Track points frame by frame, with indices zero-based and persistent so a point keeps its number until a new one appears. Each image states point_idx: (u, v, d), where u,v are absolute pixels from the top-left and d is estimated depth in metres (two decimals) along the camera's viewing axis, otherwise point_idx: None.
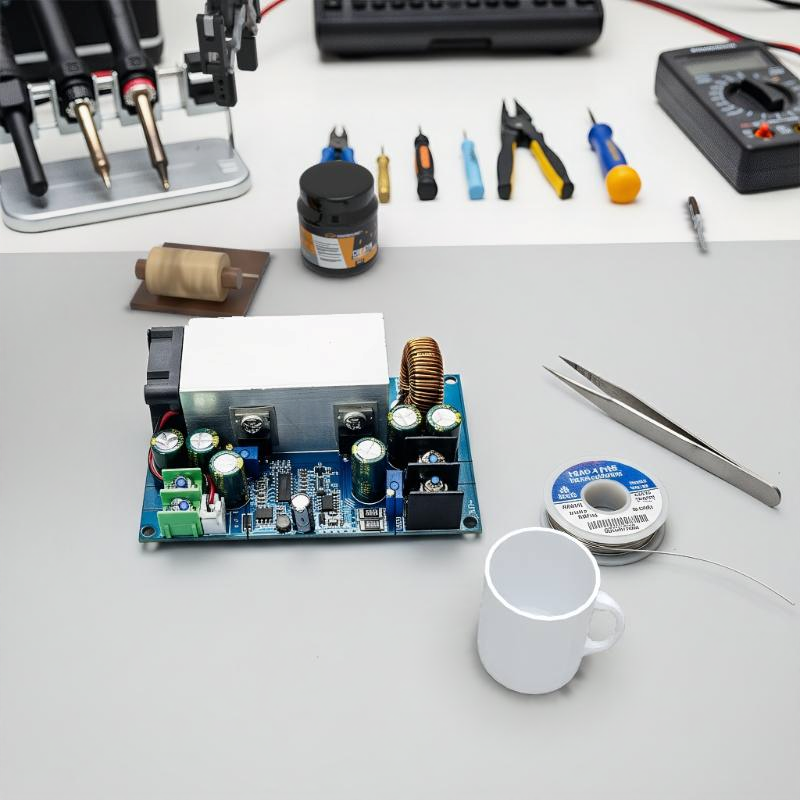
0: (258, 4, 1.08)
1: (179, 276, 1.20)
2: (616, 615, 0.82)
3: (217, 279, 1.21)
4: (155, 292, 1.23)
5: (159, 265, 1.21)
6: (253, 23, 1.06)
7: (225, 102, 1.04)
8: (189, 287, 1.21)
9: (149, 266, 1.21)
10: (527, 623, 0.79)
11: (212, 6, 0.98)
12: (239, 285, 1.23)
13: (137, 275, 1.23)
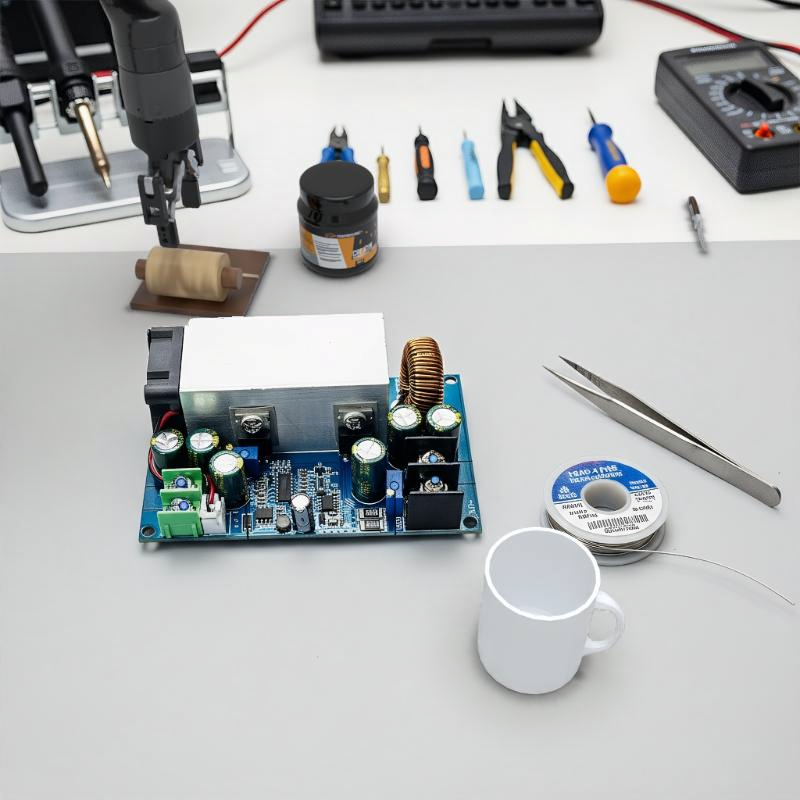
0: (200, 150, 1.19)
1: (179, 276, 1.20)
2: (616, 615, 0.82)
3: (217, 279, 1.21)
4: (155, 292, 1.23)
5: (159, 265, 1.21)
6: (194, 170, 1.16)
7: (168, 245, 1.14)
8: (189, 287, 1.21)
9: (149, 266, 1.21)
10: (527, 623, 0.79)
11: (153, 165, 1.09)
12: (239, 285, 1.23)
13: (137, 275, 1.23)
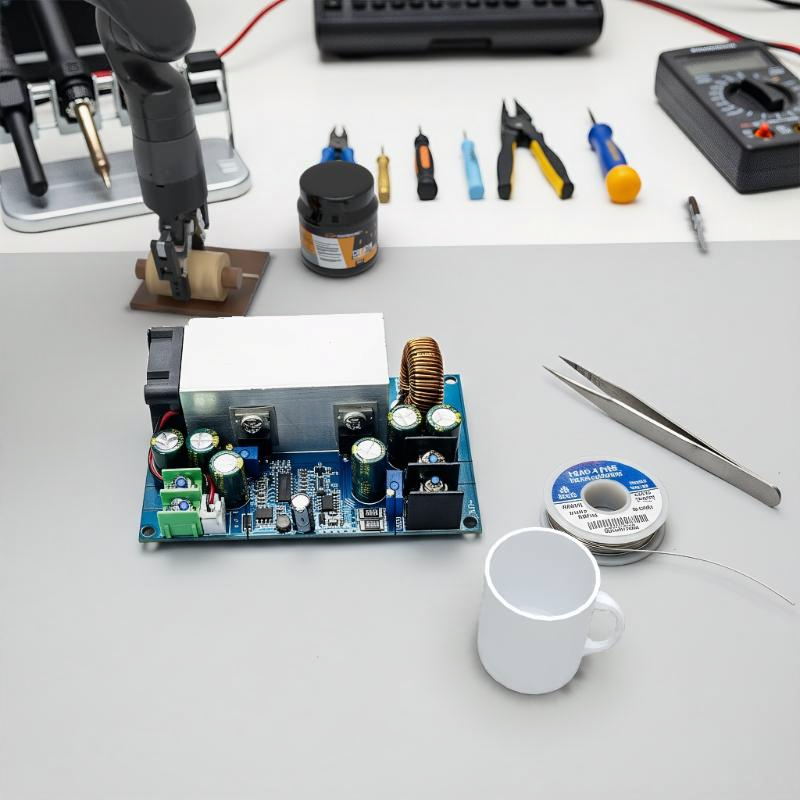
0: (207, 213, 1.24)
1: None
2: (616, 615, 0.82)
3: (218, 279, 1.21)
4: (155, 292, 1.23)
5: None
6: (201, 231, 1.21)
7: (180, 298, 1.21)
8: None
9: (149, 265, 1.21)
10: (527, 623, 0.79)
11: (163, 227, 1.14)
12: (239, 285, 1.23)
13: (137, 275, 1.23)
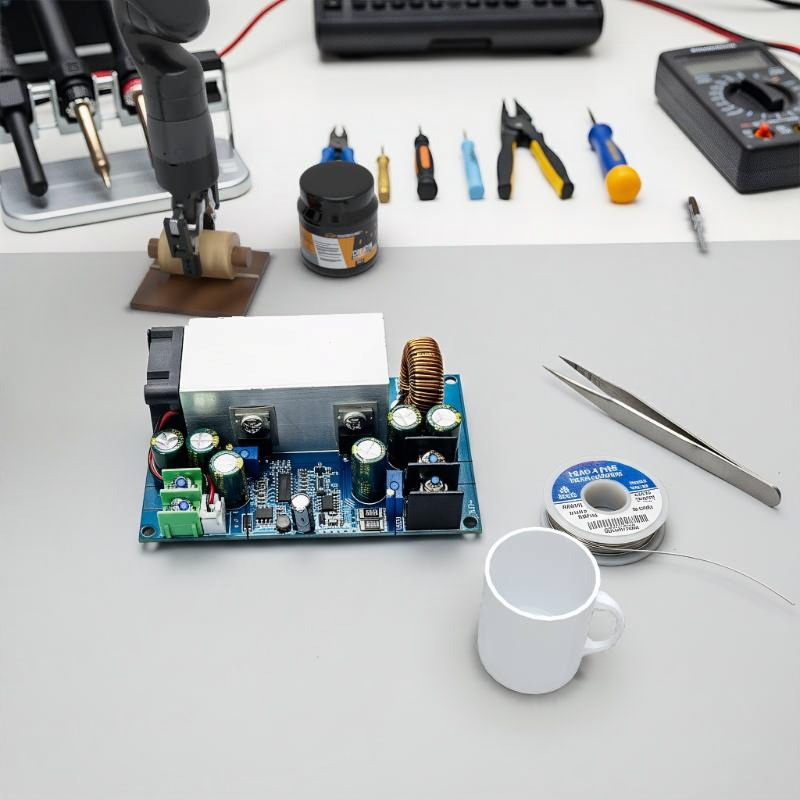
0: (217, 194, 1.27)
1: None
2: (616, 615, 0.82)
3: (228, 257, 1.24)
4: (167, 270, 1.26)
5: None
6: (212, 211, 1.25)
7: (192, 275, 1.24)
8: None
9: (161, 244, 1.24)
10: (527, 623, 0.79)
11: (176, 205, 1.18)
12: (249, 263, 1.26)
13: (149, 254, 1.26)
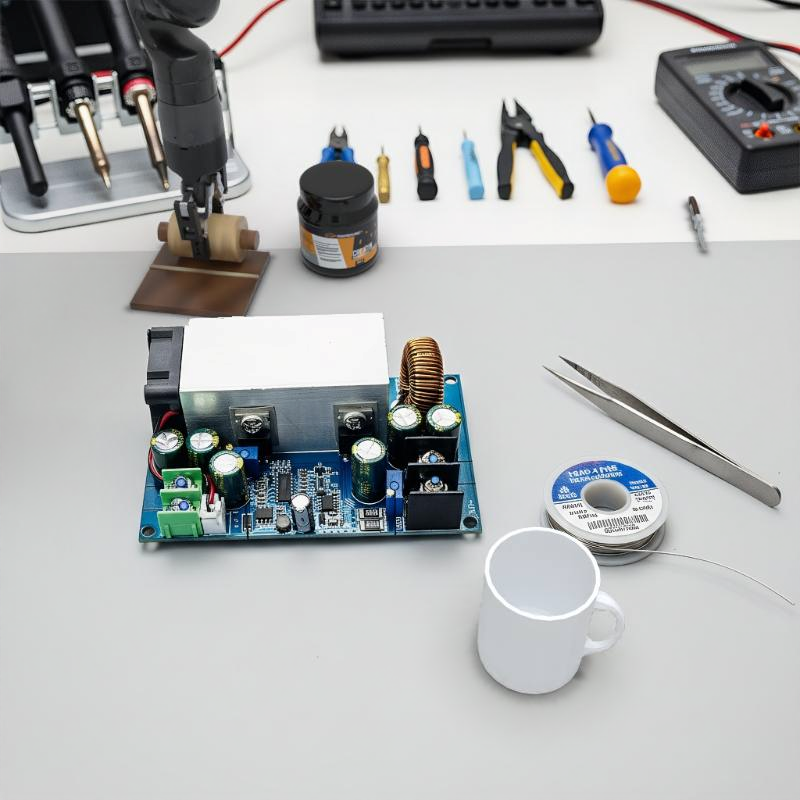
0: (225, 179, 1.30)
1: None
2: (616, 615, 0.82)
3: (236, 240, 1.27)
4: (176, 253, 1.29)
5: None
6: (220, 195, 1.27)
7: (201, 258, 1.27)
8: None
9: (171, 227, 1.27)
10: (527, 623, 0.79)
11: (186, 189, 1.20)
12: (256, 246, 1.29)
13: (159, 237, 1.29)
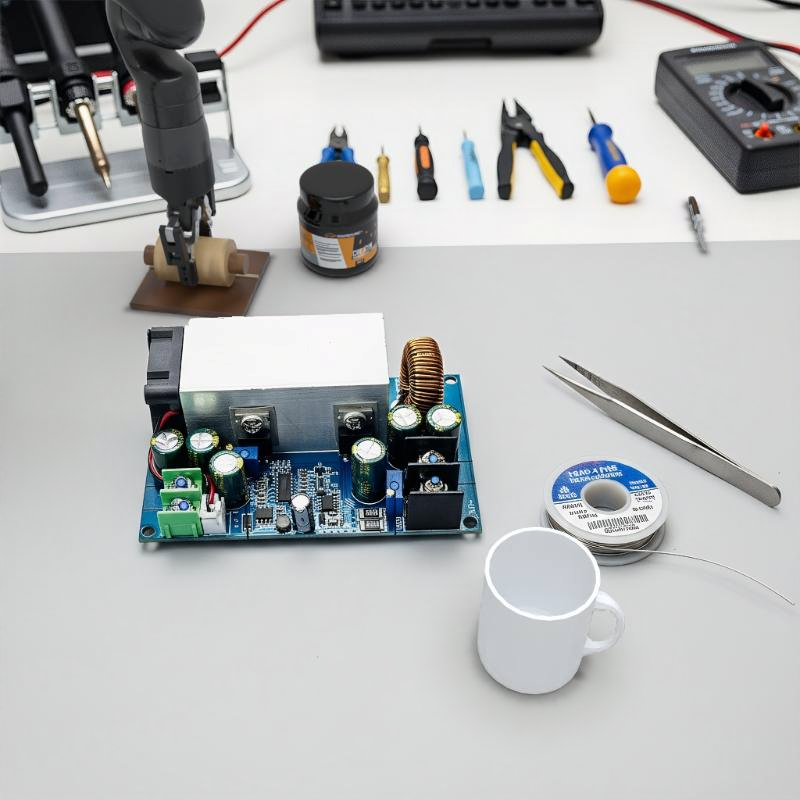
0: (213, 200, 1.26)
1: None
2: (616, 615, 0.82)
3: (225, 264, 1.23)
4: (163, 277, 1.25)
5: None
6: (208, 218, 1.24)
7: (188, 283, 1.23)
8: None
9: (157, 251, 1.23)
10: (527, 623, 0.79)
11: (172, 213, 1.16)
12: (246, 271, 1.25)
13: (145, 261, 1.25)
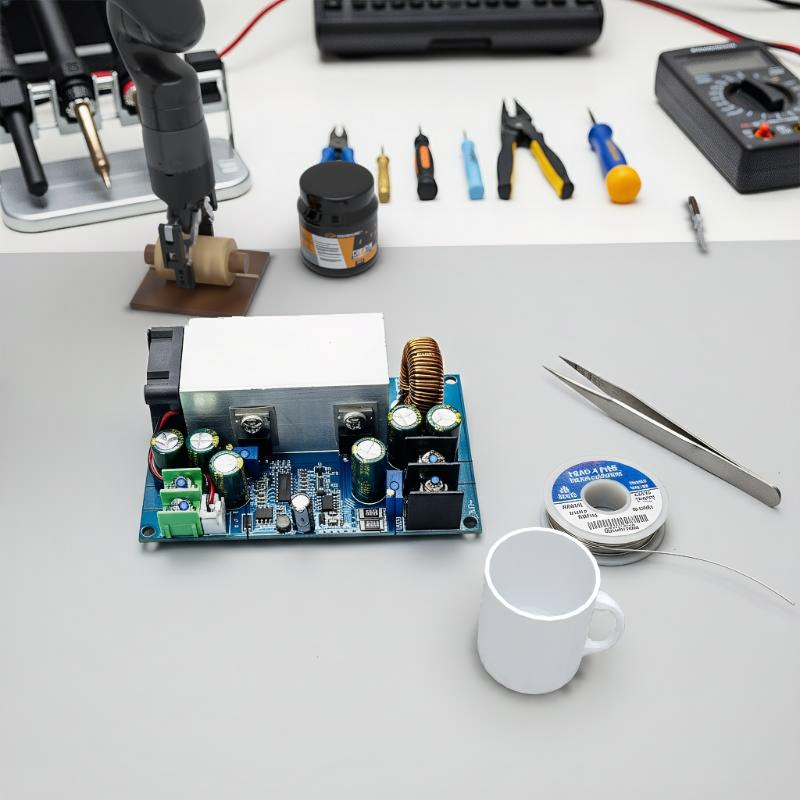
0: (214, 196, 1.26)
1: None
2: (616, 615, 0.82)
3: (225, 263, 1.23)
4: (164, 276, 1.25)
5: None
6: (209, 216, 1.24)
7: (185, 286, 1.22)
8: (197, 271, 1.23)
9: (158, 250, 1.23)
10: (527, 623, 0.79)
11: (172, 214, 1.17)
12: (246, 270, 1.25)
13: (146, 260, 1.25)
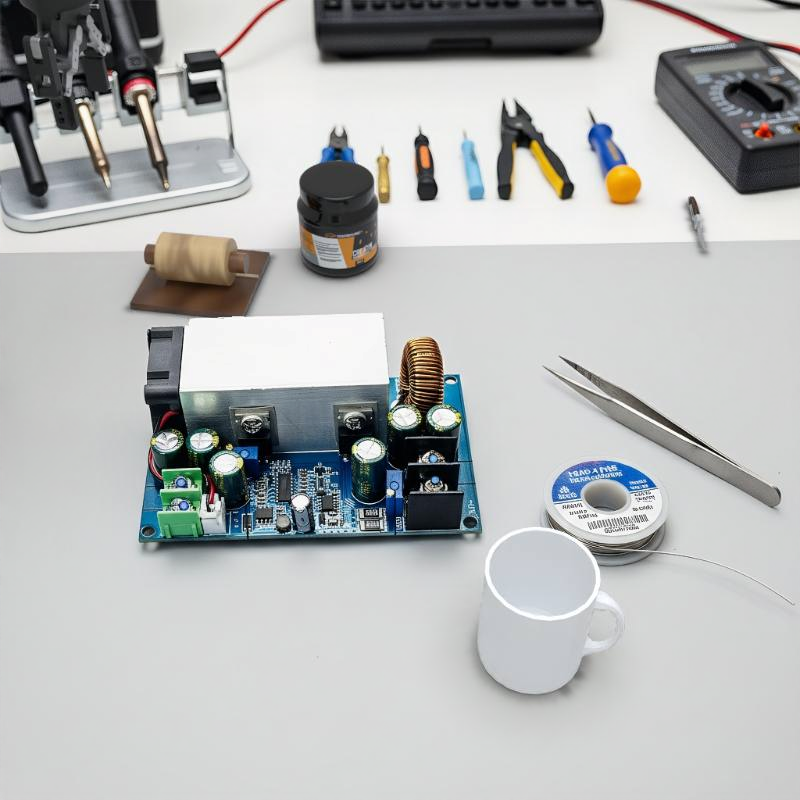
0: (106, 23, 1.05)
1: (188, 260, 1.23)
2: (616, 615, 0.82)
3: (225, 263, 1.23)
4: (164, 276, 1.25)
5: (167, 250, 1.23)
6: (97, 43, 1.02)
7: (65, 126, 1.00)
8: (197, 271, 1.23)
9: (158, 250, 1.23)
10: (527, 623, 0.79)
11: (43, 27, 0.95)
12: (246, 270, 1.25)
13: (146, 260, 1.25)
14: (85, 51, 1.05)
